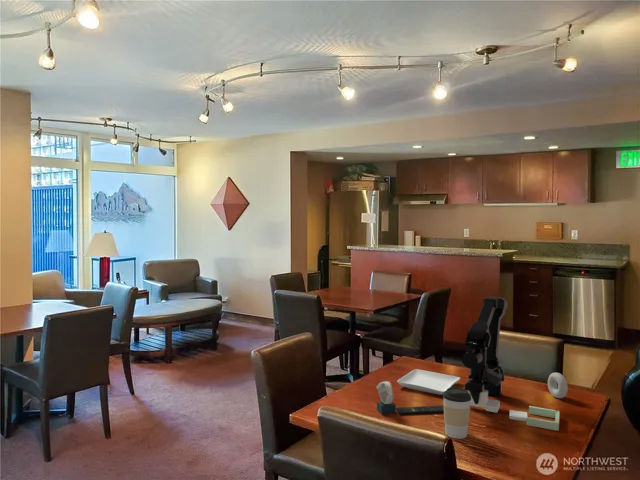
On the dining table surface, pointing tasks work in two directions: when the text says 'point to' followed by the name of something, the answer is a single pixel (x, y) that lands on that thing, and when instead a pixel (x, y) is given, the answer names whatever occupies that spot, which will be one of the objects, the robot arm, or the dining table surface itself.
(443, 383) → the salad plate
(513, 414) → the tile
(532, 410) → the green c-shaped block
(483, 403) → the scraper
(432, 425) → the dining table surface
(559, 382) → the donut
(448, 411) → the coffee cup
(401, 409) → the remote control
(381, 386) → the abstract loop sculpture
